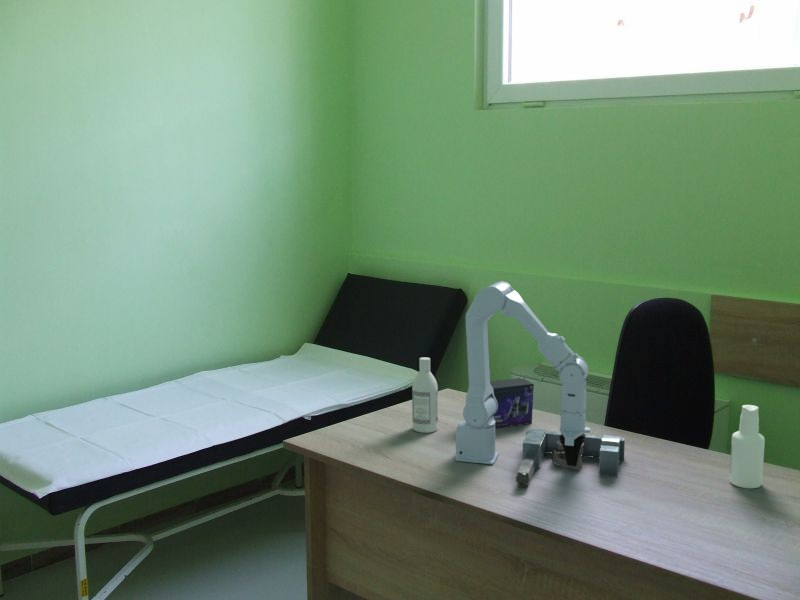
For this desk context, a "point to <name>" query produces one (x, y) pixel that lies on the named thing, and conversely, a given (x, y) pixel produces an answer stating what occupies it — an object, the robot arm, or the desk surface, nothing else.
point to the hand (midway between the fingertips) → (571, 464)
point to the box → (513, 401)
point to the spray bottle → (747, 450)
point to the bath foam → (425, 399)
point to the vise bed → (595, 450)
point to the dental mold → (561, 459)
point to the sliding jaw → (531, 455)
